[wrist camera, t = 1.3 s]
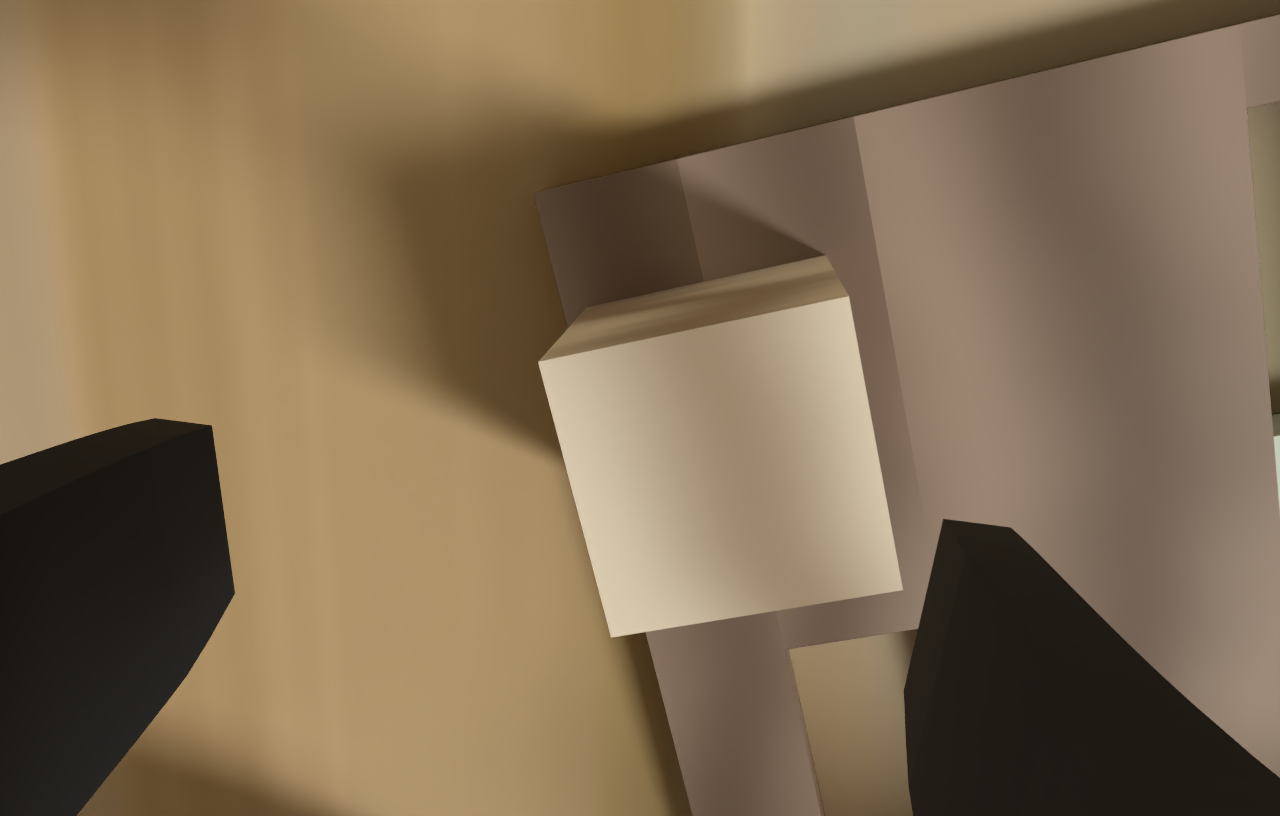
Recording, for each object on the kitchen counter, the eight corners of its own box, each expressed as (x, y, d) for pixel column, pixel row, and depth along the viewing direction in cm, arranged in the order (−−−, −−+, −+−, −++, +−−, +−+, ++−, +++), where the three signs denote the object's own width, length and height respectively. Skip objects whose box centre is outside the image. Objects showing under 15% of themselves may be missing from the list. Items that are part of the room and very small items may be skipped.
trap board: (736, 947, 26) (734, 1055, 23) (544, 190, 22) (510, 201, 19) (1492, 865, 24) (1604, 976, 20) (1467, -32, 19) (1607, -62, 16)
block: (641, 526, 22) (611, 637, 17) (586, 307, 21) (538, 361, 16) (869, 485, 21) (903, 590, 17) (825, 255, 20) (849, 295, 15)
